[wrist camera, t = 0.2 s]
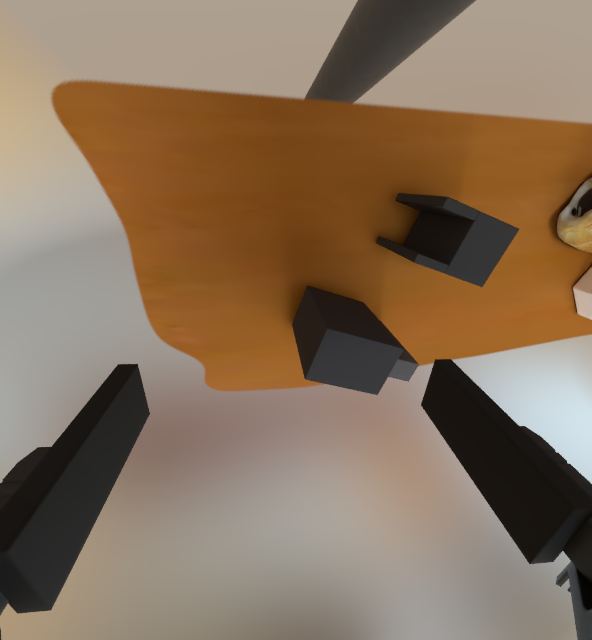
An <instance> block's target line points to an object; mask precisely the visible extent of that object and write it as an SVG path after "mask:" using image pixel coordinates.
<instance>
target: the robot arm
mask: <svg viewBox="0 0 592 640" xmlns="http://www.w3.org/2000/svg"><path fill="white" fill-rule="evenodd" d="M421 406H422V407H423V409H424V410H425V412H426V413H427V414H428V416H429V417H430V419H431V420H432V422H433V423H434V425H435V426H436V428H437V429H438V431H439V432H440V433H441V435H442V436H443V438H444V439H445V441H446V442H447V444H448V445H449V447H450V448H451V450H452V451H453V452H454V454H455V455H456V457H457V458H458V460H459V461H460V463H461V464H462V466H463V467H464V469H465V470H466V472H467V473H468V474H469V476H470V477H471V479H472V480H473V482H474V483H475V485H476V486H477V488H478V489H479V490H480V492H481V494H482V495H483V496H484V498H485V499H486V501H487V502H488V504H489V505H490V507H491V508H492V510H493V511H494V513H495V514H496V515H497V517H498V518H499V520H500V521H501V523H502V524H503V525H504V527H505V529H506V530H507V532H508V533H509V534H510V536H511V537H512V539H513V540H514V542H515V543H516V544H517V546H518V548H519V549H520V550H521V552H522V553H523V555H524V556H525V558H526V559H527V561H528V562H529V564H535V563H546V562H553V561H554V560H555V559H556V558H557V557H558V556H559V554H560V553H561V552H562V551H564V552H565V554H566V555H567V556H568V558H570V560H571V562H570V563H569V564H568V565H567V567H566V568H565V569H564V570H563V571H562V572H561V573H560V574H559V575H558V576H557V580H556V584H557V585H559V586H560V587H561V586H562V585H563V584H564V583H565V582H566V581H567V579H568V578H569V582H570V587H569V589H568V591H569V592H571V596H572V603H573V610H574V616H575V624H576V630H577V637H578V640H592V484H591V483H590V482H589V481H588V480H587V479H586V478H584V477H583V476H582V475H581V474H580V473H579V472H578V471H577V470H576V469H575V468H574V467H573V466H571V464H568V463H567V461H566V460H565V459H564V458H563V457H562V456H561V455H560V454H559V453H556V452H555V449H553V448H552V447H551V446H550V445H549V444H548V443H547V442H546V441H545V440H544V439H543V438H542V437H540V436H539V435H537V434H536V433H534V432H533V431H531V430H530V429H528V428H527V427H525V426H518V425H517V424H516V423H515V422H514V421H513V420H512V419H511V418H510V417H509V416H508V415H507V414H506V413H505V412H504V411H503V410H502V409H501V408H500V407H499V406H498V405H497V404H496V403H495V402H494V401H493V400H492V399H491V398H490V397H489V396H488V395H487V394H486V393H485V392H484V391H482V389H481V388H479V386H477V385H476V384H475V383H474V382H473V381H472V380H471V379H470V378H469V377H468V376H467V375H466V374H465V373H464V372H463V371H462V370H461V369H460V368H459V367H458V366H457V365H456V364H455V363H454V362H453V361H452V360H451V359H442V360H435V362H434V365H433V368H432V372H431V375H430V378H429V381H428V385H427V388H426V391H425V394H424V397H423V400H422V403H421ZM149 414H150V413H149V408H148V404H147V400H146V396H145V392H144V388H143V384H142V380H141V376H140V372H139V368H138V364H120V365H119V364H118V365H117V367H116V368H115V369H114V370H113V371H112V373H111V374H110V375H109V377H108V378H107V379H106V380H105V381H104V383H103V384H102V385H101V387H100V388H99V389H98V390H97V391H96V393H95V394H94V395H93V396H92V397H91V399H90V400H89V401H88V402H87V404H86V405H85V406H84V407H83V409H82V410H81V411H80V412H79V414H78V415H77V416H76V417H75V419H74V420H73V421H72V422H71V423H70V425H69V426H68V427H67V429H66V430H65V431H64V432H63V433H62V435H61V436H60V437H59V438H58V439H57V441H56V442H55V443H54V444H53V446H52V447H38V448H37V449H36V450H34V451H33V452H31V453H30V454H29V455H28V456H26V457H25V458H23V459H22V460H21V461H19V462H18V463H17V464H16V465H15V467H14V468H13V469H12V470H11V471H10V472H9V473H8V475H6V477H5V478H4V479H3V482H2V483H0V615H1V613H2V612H3V610H4V609H5V607H6V605H7V604H8V603H9V605H10V606H11V607H12V608H13V609H14V610H15V611H16V612H17V613H27V612H37V611H48V610H51V609H52V607H53V605H54V603H55V601H56V599H57V597H58V595H59V593H60V591H61V589H62V587H63V585H64V583H65V581H66V579H67V577H68V575H69V573H70V571H71V569H72V568H73V565H74V564H75V562H76V560H77V558H78V555H79V553H80V552H81V550H82V548H83V546H84V544H85V542H86V540H87V538H88V536H89V534H90V532H91V530H92V527H93V526H94V524H95V522H96V520H97V518H98V516H99V514H100V512H101V510H102V508H103V506H104V504H105V502H106V500H107V498H108V496H109V494H110V492H111V490H112V488H113V486H114V484H115V482H116V480H117V478H118V476H119V474H120V472H121V470H122V468H123V466H124V464H125V462H126V460H127V458H128V456H129V454H130V452H131V450H132V448H133V446H134V444H135V442H136V440H137V438H138V436H139V434H140V432H141V430H142V428H143V426H144V424H145V422H146V420H147V418H148V416H149ZM0 640H1V630H0Z"/></svg>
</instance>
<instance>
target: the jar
mask: <svg viewBox="0 0 592 640" xmlns="http://www.w3.org/2000/svg"><path fill="white" fill-rule="evenodd" d="M573 291H574V297H575V302H576V307H577V313H578V314H579V315H581V316H583V317H586V318H588V319H591V320H592V266H591V267H590V269H589V270H588V271H587V272H586V273H585V274H584V275H583V276H582V278H581V279H580V280H579V281H578V282H577V283H576V284H575V285H574V287H573Z"/></svg>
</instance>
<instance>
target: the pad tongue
mask: <svg viewBox="0 0 592 640" xmlns="http://www.w3.org/2000/svg"><path fill="white" fill-rule="evenodd" d="M292 326H293V330H294V335H295V339H296V343H297V348H298V352H299V356H300V360H301V365H302V369H303V373H304V377H305V379H306V380H311V381H315V382H320V383H324V384H329V385H334V386H338V387H343V388H348V389H353V390H357V391H362V392H367V393H371V394H376V395H378V393H379V391H380V389H381V388H382V386H383V384H384V383H385V381H386V379H387V377H392V378H396V379H400V380H404V381H409V380H410V378H411V376H412V375H413V373H414V372H415V370H416V368H417V367H418V365H419V364H418V363H417V362H416V361H415V359H414V358H413V357H412V356H411V355H410V354H409V353H408V351H407V350H406V349H405V348H404V347H403V346H402V345H401V344H400V342H399V341H398V340H397V339H396V338H395V337H394V336H393V334H392V333H391V332H390V331H389V330H388V329H387V328H386V326H385V325H384V324H383V323H382V322H381V321H379V320H378V319H377V317H376V316H375V315H374V314H373V313H372V312H371V311H370V309H369V308H368V307H367V306H366V305H365V304H364V303H363V302H359V301H356V300H353V299H349V298H346V297H343V296H340V295H336V294H333V293H330V292H327V291H323V290H320V289H317V288H313V287H310V286H307V288H306V290H305V293H304V296H303V298H302V301H301V303H300V306H299V309H298V311H297V314H296V316H295V319H294V322H293V324H292Z"/></svg>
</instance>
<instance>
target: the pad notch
mask: <svg viewBox="0 0 592 640" xmlns="http://www.w3.org/2000/svg"><path fill="white" fill-rule="evenodd" d="M396 201H398V202H400V203H403V204H405V205H408V206H410V207H412V208H415V209H417V210H419V211H421V212H420V214H419V216H418V218H417V220H416V222H415V224H414V226H413V228H412V230H411V232H410V234H409V236H408V238H407V240H406V242H405V244H404V246H403V245H401V244H398V243H396V242H393V241H390V240H388V239H385V238H382V237H380V236H379V238H378V240H377V242H376V243H377V244H379V245H381V246H383V247H385V248H387V249H389V250H391V251H393V252H395V253H397V254H399V255H401V256H403V257H405V258H407V259H409V260H411V261H412V262H415V263H417V264H420V265H423V266H426V267H428V268H431V269H434V270H437V271H439V272H442V273H445V274H448V275H450V276H453V277H456V278H458V279H461V280H464V281H467V282H469V283H472V284H475V285H478V286H480V287H483V285H484V283H485V282H486V280H487V279H488V277H489V276H490V274H491V273H492V271H493V269H494V268H495V266H496V265H497V263H498V262H499V260H500V259H501V257H502V255H503V254H504V252H505V251H506V249H507V248H508V246H509V245H510V243H511V241H512V240H513V238H514V237H515V235H516V234H517V232H518V231H519V229H518V228H516V227H514V226H511V225H509V224H507V223H505V222H502V221H500V220H498V219H496V218H494V217H491V216H489V215H487V214H485V213H482V212H480V211H478V210H476V209H474V208H471V207H469V206H467V205H465V204H463V203H460V202H458V201H456V200H454V199H451V198H449V197H442V196H429V195H416V194H403V193H399V194H398V196H397V198H396Z"/></svg>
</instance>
